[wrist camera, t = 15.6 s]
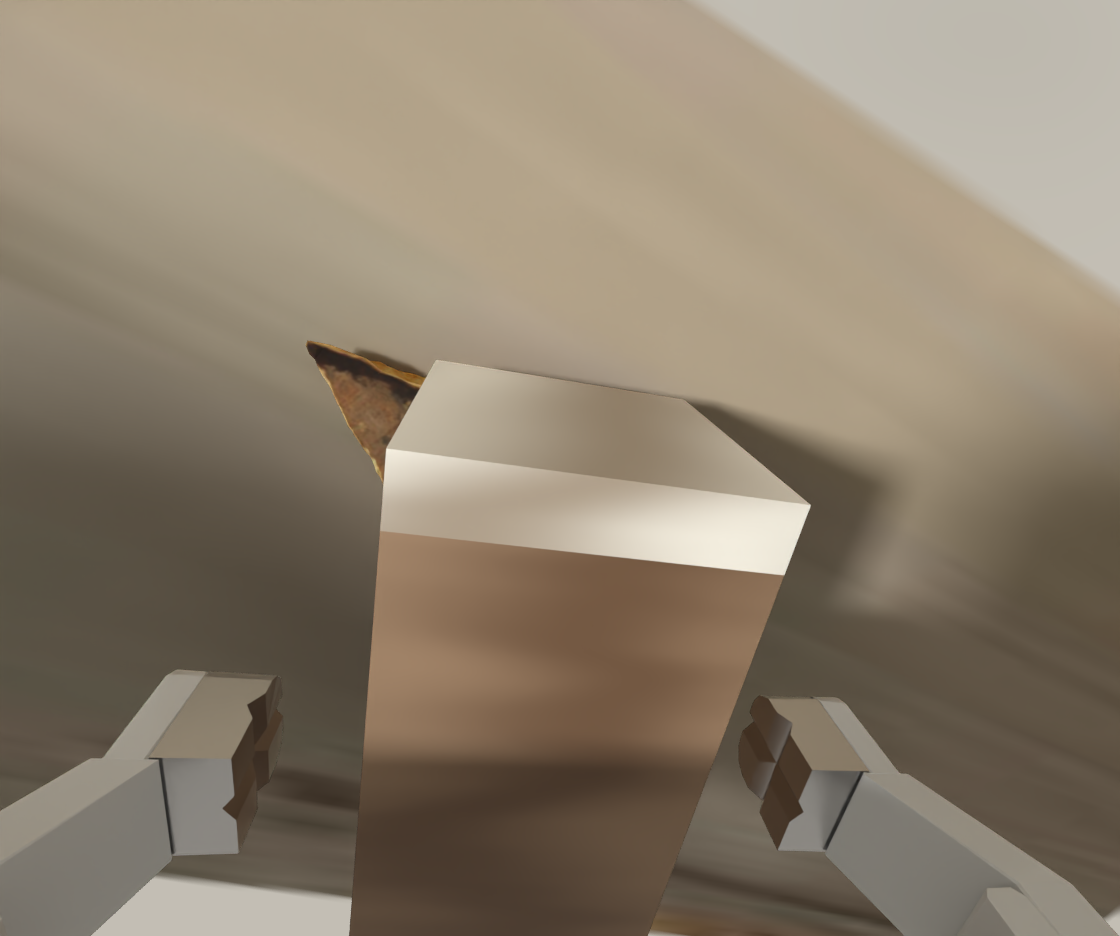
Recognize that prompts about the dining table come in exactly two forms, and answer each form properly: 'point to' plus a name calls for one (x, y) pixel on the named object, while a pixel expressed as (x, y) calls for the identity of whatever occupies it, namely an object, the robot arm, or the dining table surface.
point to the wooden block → (553, 651)
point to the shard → (367, 396)
